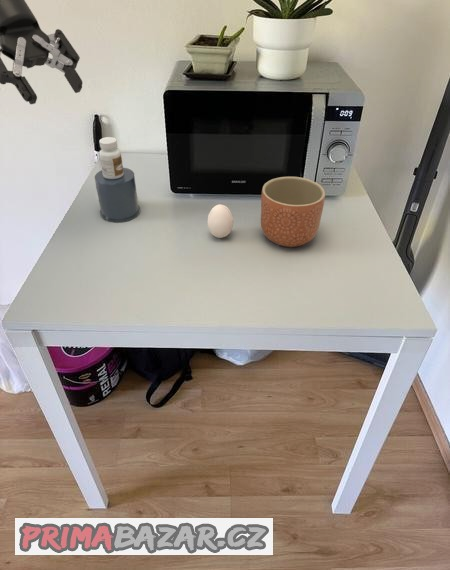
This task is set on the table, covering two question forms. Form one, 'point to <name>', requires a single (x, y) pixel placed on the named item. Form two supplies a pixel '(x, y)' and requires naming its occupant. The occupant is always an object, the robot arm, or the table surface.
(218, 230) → the egg
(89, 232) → the table surface
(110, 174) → the pill bottle
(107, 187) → the cup
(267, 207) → the planter
